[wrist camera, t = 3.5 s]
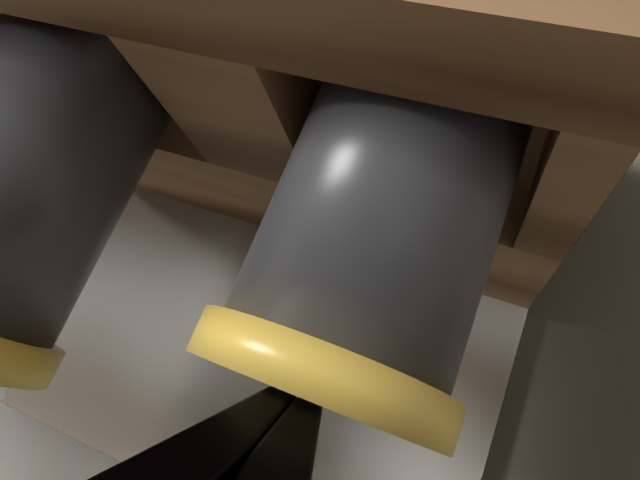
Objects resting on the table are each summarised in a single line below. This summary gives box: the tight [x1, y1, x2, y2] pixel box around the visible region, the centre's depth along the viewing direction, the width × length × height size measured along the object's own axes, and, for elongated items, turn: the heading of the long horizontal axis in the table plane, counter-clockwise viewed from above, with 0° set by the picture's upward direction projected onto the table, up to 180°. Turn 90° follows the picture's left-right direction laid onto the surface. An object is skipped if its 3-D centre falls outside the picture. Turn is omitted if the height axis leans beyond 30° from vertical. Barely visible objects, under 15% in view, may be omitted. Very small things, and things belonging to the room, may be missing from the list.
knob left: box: [0, 14, 172, 391], centre depth 12 cm, size 8×5×5 cm, turn 158°
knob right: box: [186, 81, 533, 458], centre depth 10 cm, size 8×5×5 cm, turn 158°
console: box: [0, 0, 640, 480], centre depth 12 cm, size 14×15×14 cm
